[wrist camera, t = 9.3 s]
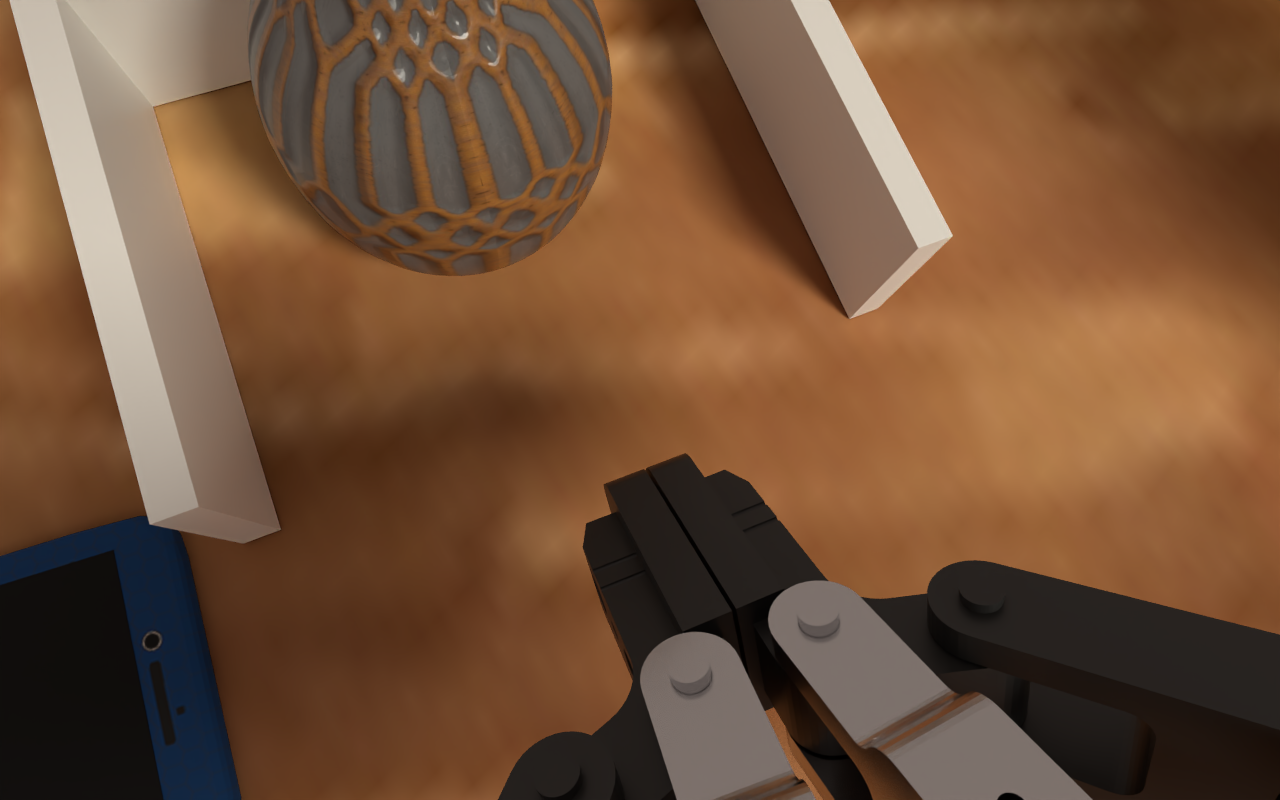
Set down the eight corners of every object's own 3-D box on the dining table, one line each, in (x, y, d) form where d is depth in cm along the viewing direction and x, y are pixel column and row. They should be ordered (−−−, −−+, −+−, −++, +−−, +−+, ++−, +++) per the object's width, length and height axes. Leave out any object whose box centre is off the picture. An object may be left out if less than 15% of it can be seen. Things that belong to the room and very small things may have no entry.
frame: (693, -65, 22) (719, -207, 18) (877, 308, 20) (953, 236, 16) (111, 88, 19) (-2, -40, 16) (243, 543, 17) (149, 524, 13)
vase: (544, 33, 21) (529, -353, 13) (646, 259, 20) (707, -3, 11) (283, 109, 20) (72, -262, 11) (372, 357, 18) (208, 143, 10)
